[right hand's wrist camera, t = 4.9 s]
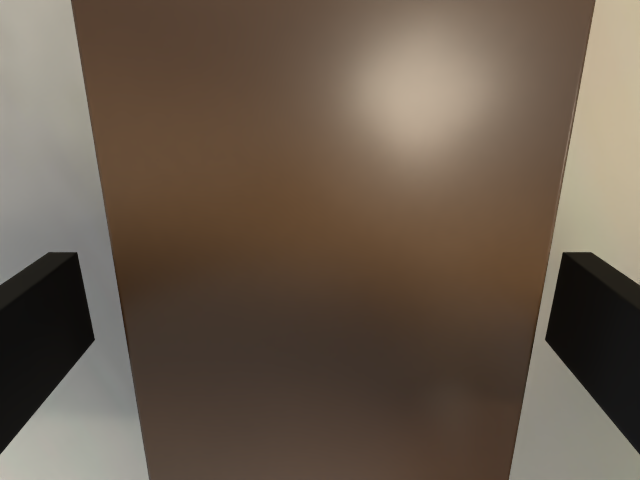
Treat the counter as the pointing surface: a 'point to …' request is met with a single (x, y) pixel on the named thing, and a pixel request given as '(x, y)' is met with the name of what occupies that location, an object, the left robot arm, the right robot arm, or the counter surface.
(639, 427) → the right robot arm
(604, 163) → the counter surface
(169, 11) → the long beam
